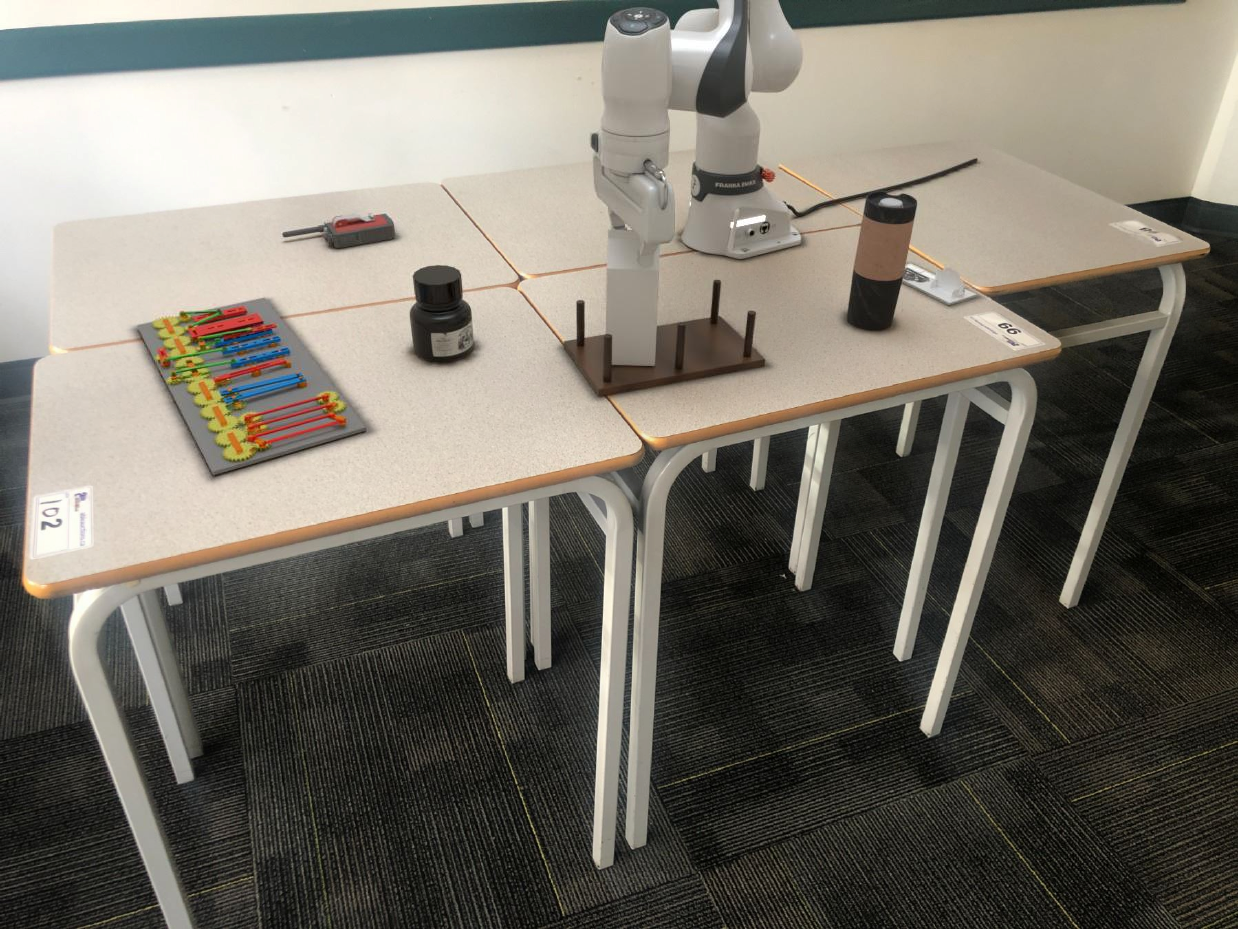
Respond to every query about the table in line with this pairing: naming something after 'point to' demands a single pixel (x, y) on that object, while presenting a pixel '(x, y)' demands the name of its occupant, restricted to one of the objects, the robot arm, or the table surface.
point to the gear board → (246, 384)
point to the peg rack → (667, 352)
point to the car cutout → (937, 284)
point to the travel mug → (880, 259)
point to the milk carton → (631, 300)
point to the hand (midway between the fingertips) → (631, 251)
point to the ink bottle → (440, 315)
